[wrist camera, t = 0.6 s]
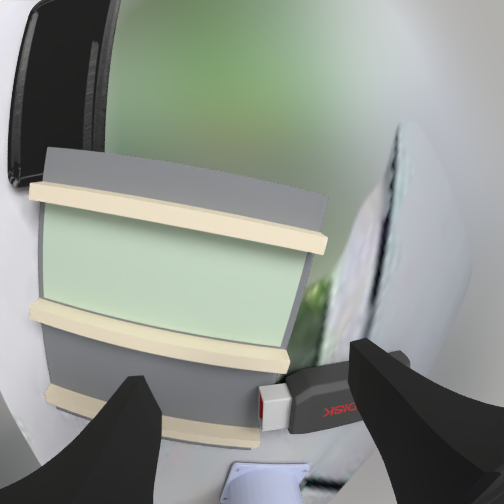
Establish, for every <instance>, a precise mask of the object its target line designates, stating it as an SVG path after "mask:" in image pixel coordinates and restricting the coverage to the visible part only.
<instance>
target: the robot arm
mask: <svg viewBox="0 0 504 504" xmlns="http://www.w3.org/2000/svg"><path fill="white" fill-rule="evenodd" d="M348 385H349V388H350V391H351V394H352V397H353V399H354V402H355V405H356V407H357V409H358V411H359V413H360V415H361V417H362V419H363V421H364V423H365V425H366V427H367V428H368V430H369V432H370V434H371V436H372V438H373V440H374V442H375V444H376V446H377V448H378V450H379V452H380V454H381V456H382V459H383V461H384V463H385V467H386V469H387V472H388V475H389V478H390V481H391V484H392V487H393V490H394V494H395V497H396V500H397V504H504V408H503V407H498V406H494V405H490V404H486V403H483V402H480V401H477V400H474V399H471V398H468V397H465V396H463V395H460V394H458V393H455V392H453V391H451V390H449V389H447V388H444V387H442V386H440V385H438V384H436V383H434V382H433V381H431V380H429V379H427V378H425V377H424V376H422V375H420V374H419V373H417V372H415V371H414V370H412V369H410V368H409V367H407V366H406V365H404V364H403V363H401V362H400V361H398V360H397V359H395V358H394V357H392V356H391V355H390V354H388V353H387V352H385V351H384V350H383V349H381V348H380V347H378V346H377V345H376V344H374V343H373V342H371V341H370V340H369V339H367V338H364V339H360V340H356V341H352V342H350V353H349V371H348ZM161 436H162V411H161V409H160V407H159V405H158V404H157V402H156V400H155V398H154V396H153V394H152V392H151V390H150V388H149V386H148V384H147V382H146V380H145V377H144V375H139V376H128V377H127V378H126V379H125V380H124V382H123V383H122V384H121V385H120V386H119V388H118V389H117V390H116V391H115V393H114V394H113V395H112V396H111V398H110V399H109V400H108V401H107V403H106V404H105V405H104V406H103V408H102V409H101V410H100V411H99V412H98V414H97V415H96V416H95V417H94V418H93V419H92V421H91V422H90V423H89V424H88V425H87V426H86V427H85V428H84V429H83V431H82V432H81V433H80V434H79V435H78V436H77V437H76V438H75V439H74V440H73V441H72V442H71V443H70V444H69V445H68V446H67V447H65V448H64V449H63V450H62V451H61V452H60V453H59V454H57V455H56V456H55V457H54V458H52V459H51V460H50V461H48V462H47V463H46V464H44V465H43V466H42V467H40V468H39V469H37V470H36V471H34V472H33V473H31V474H30V475H28V476H26V477H24V478H23V479H21V480H19V481H17V482H15V483H13V484H11V485H9V486H7V487H4V488H2V489H0V504H153V491H154V482H155V475H156V469H157V462H158V456H159V450H160V443H161ZM309 469H310V465H309V464H258V463H240V462H236V463H233V464H232V467H231V470H230V473H229V475H228V478H227V481H226V484H225V487H224V489H223V492H222V495H221V498H220V503H223V504H303V500H302V496H301V492H300V487H299V484H300V482H301V481H302V479H303V478H304V476H305V475H306V473H307V472H308V470H309Z"/></svg>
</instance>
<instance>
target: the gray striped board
mask: <svg viewBox="0 0 504 504" xmlns="http://www.w3.org/2000/svg"><path fill="white" fill-rule="evenodd" d="M29 199H30V200H35V201H40V214H39V235H38V277H39V297H40V298H39V299H38V300H36V301H35V302H34V303H33V304H32V305H30V306H29V309H30V318H31V319H32V320H35V321H38V322H41V323H42V330H43V338H44V346H45V352H46V359H47V365H48V370H49V375H50V380H51V384H50V386H49V387H48V389H47V390H46V392H45V393H44V395H45V399H46V402H47V403H50V404H52V405H55V406H56V407H57V409H59V410H62V411H64V412H67V413H70V414H73V415H76V416H79V417H82V418H85V419H88V420H91V421H92V419H93V418H94V417H95V416H96V415H97V414H98V412H99V411H100V410H101V409H102V408H103V406H104V405H105V404H106V403H107V401H108V400H109V399H110V398H111V396H112V395H113V394H114V393H115V391H116V390H117V389H118V388H119V386H120V385H121V384H122V383H123V382H124V380H125V379H126V378H127V377H128V376H139V375H144V377H145V380H146V382H147V384H148V386H149V388H150V390H151V392H152V394H153V396H154V398H155V400H156V402H157V404H158V405H159V407H160V409H161V411H162V436H161V439H166V440H171V441H177V442H183V443H189V444H196V445H203V446H211V447H220V448H229V449H241V450H251V448H258V447H259V444H260V442H261V440H260V433H259V426H260V421H259V417H258V407H259V386H266V385H275V382H276V379H277V376H278V373H281V374H286V373H287V370H288V367H289V364H290V360H289V357H288V354H287V351H286V349H287V345H288V342H289V339H290V336H291V333H292V330H293V326H294V323H295V320H296V317H297V313H298V310H299V307H300V303H301V300H302V297H303V293H304V290H305V286H306V283H307V279H308V276H309V272H310V269H311V265H312V261H313V257H314V254H315V253H316V254H321V255H323V254H324V251H325V248H326V244H327V240H328V238H327V237H326V236H324V235H323V234H322V233H320V231H321V228H322V224H323V220H324V215H325V211H326V208H327V204H328V200H329V196H326V195H323V194H319V193H315V192H311V191H307V190H303V189H299V188H295V187H291V186H287V185H283V184H278V183H274V182H270V181H265V180H261V179H256V178H252V177H247V176H242V175H237V174H232V173H227V172H222V171H217V170H212V169H207V168H202V167H196V166H190V165H185V164H179V163H173V162H167V161H161V160H154V159H147V158H141V157H134V156H126V155H119V154H112V153H104V152H95V151H86V150H77V149H66V148H55V147H47V153H46V159H45V166H44V173H43V181H42V182H34V183H30V188H29Z"/></svg>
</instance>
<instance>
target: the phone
mask: <svg viewBox="0 0 504 504" xmlns="http://www.w3.org/2000/svg"><path fill="white" fill-rule="evenodd" d="M120 4H121V0H41V1H40V2H38V3H37V4H36V5H35V6H34V7H33V8H32V10H31V11H30V14H29V16H28V20H27V23H26V27H25V31H24V34H23V38H22V43H21V47H20V51H19V56H18V61H17V66H16V72H15V78H14V84H13V91H12V99H11V108H10V118H9V133H8V178H9V181H10V183H11V184H12V185H13V186H14V187H26V186H30V183H34V182H42V181H43V173H44V166H45V159H46V153H47V147H55V148H66V149H77V150H86V151H95V152H104V153H105V127H106V108H107V107H106V106H107V94H108V83H109V73H110V65H111V57H112V49H113V43H114V35H115V30H116V24H117V19H118V14H119V9H120Z"/></svg>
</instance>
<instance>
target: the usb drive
mask: <svg viewBox="0 0 504 504" xmlns="http://www.w3.org/2000/svg"><path fill="white" fill-rule="evenodd" d="M388 354H390V355H391V356H392V357H394V358H395V359H397V360H398V361H400V362H401V363H403V364H404V365H406V366H407V367H409V368H410V361H409V359H408V357H407V356H406V355H405V354H404V353H403V352H402V351H395V352H391V353H388ZM348 371H349V361H347V362H342V363H336V364H330V365H324V366H318V367H312V368H305V369H301V370H299V371H297V372H295V373H294V374H292V375H290V376H288V377H286V380H285V383H283V384H275V385H266V386H259V407H258V417H259V421H260V425H261V429H262V432H263V431H271V430H278V429H284V428H288V430H289V433H290V434H305V433H311V432H316V431H320V430H325V429H330V428H334V427H338V426H342V425H347V424H350V423H354V422H358V421H362V420H363V419H362V417H361V415H360V413H359V411H358V409H357V407H356V405H355V402H354V399H353V397H352V394H351V391H350V388H349V385H348Z"/></svg>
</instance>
